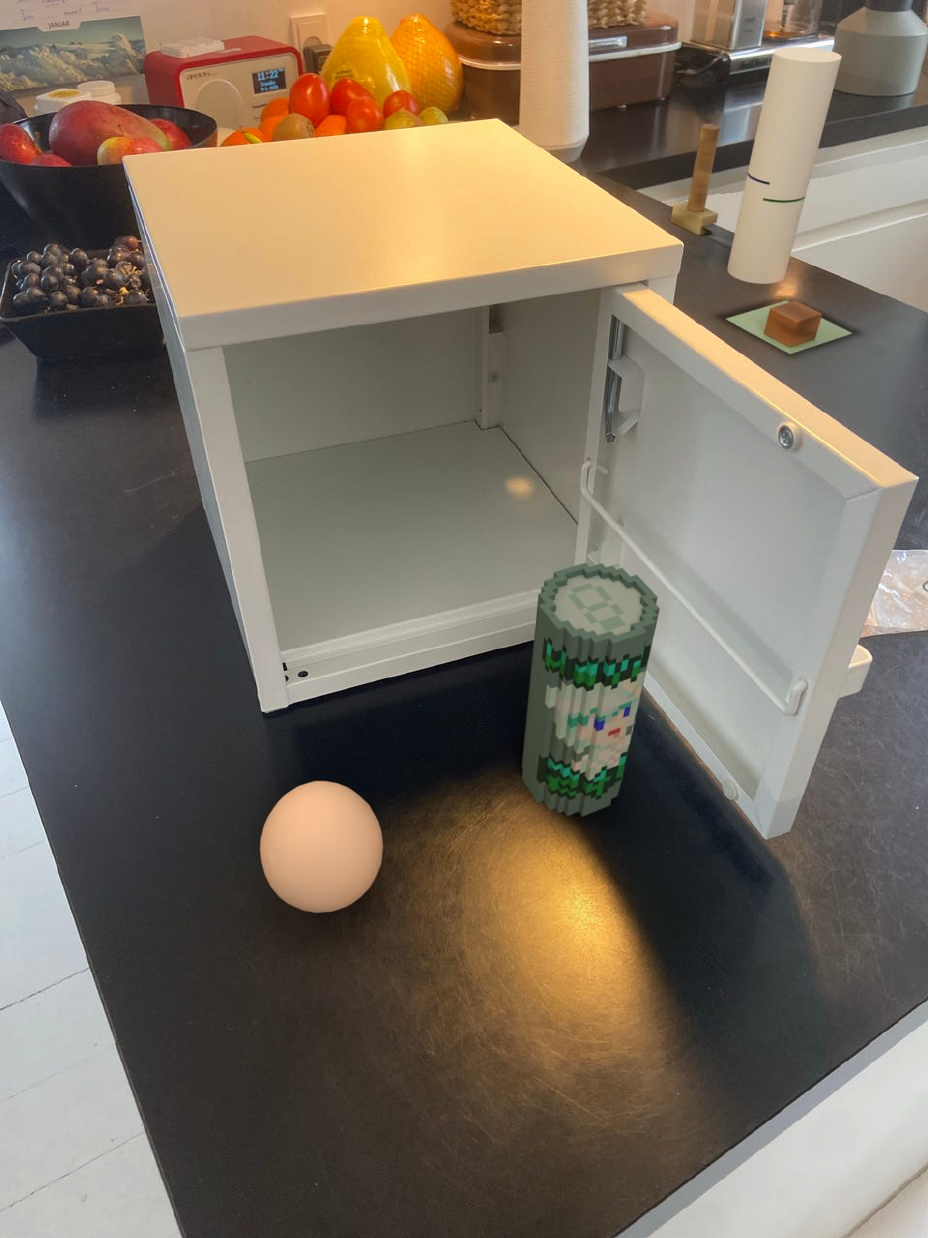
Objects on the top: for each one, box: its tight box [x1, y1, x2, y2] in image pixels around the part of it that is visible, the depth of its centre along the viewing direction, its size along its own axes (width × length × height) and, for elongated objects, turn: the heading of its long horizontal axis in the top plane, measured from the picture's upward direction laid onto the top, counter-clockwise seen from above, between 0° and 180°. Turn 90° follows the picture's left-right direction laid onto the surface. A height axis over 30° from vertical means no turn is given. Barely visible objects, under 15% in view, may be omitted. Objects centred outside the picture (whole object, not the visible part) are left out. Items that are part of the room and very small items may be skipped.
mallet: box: [670, 123, 721, 236], centre depth 125 cm, size 6×3×13 cm, turn 32°
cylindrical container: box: [726, 46, 842, 285], centre depth 108 cm, size 7×7×25 cm
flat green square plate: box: [725, 300, 853, 355], centre depth 105 cm, size 10×10×1 cm
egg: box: [259, 780, 384, 914], centre depth 50 cm, size 7×7×8 cm
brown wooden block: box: [764, 300, 823, 347], centre depth 101 cm, size 4×4×3 cm
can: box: [521, 562, 661, 817], centre depth 53 cm, size 6×6×15 cm
